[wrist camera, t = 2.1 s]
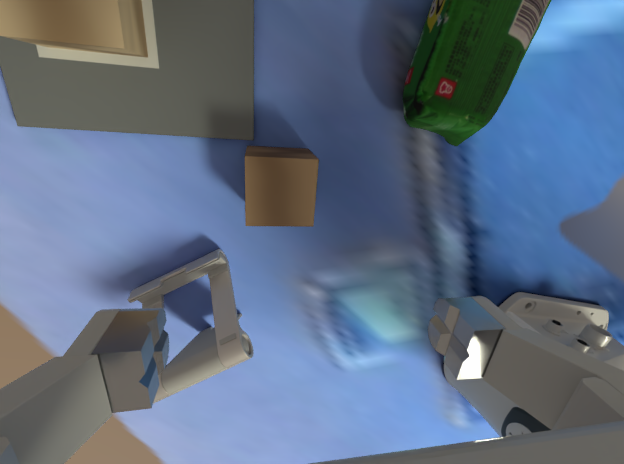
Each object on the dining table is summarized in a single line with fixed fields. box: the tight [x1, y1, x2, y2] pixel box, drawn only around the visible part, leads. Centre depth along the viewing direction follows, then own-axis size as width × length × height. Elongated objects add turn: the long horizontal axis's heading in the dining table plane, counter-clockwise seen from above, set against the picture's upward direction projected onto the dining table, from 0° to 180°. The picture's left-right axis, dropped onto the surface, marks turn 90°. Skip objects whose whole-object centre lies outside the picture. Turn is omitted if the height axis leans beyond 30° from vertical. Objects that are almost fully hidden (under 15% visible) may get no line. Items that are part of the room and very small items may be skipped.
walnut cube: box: [245, 146, 319, 226], centre depth 24 cm, size 5×5×5 cm
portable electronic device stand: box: [128, 249, 253, 403], centre depth 26 cm, size 9×8×8 cm
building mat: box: [0, 0, 254, 140], centre depth 20 cm, size 16×14×1 cm
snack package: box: [403, 0, 551, 146], centre depth 21 cm, size 7×16×5 cm, turn 165°
